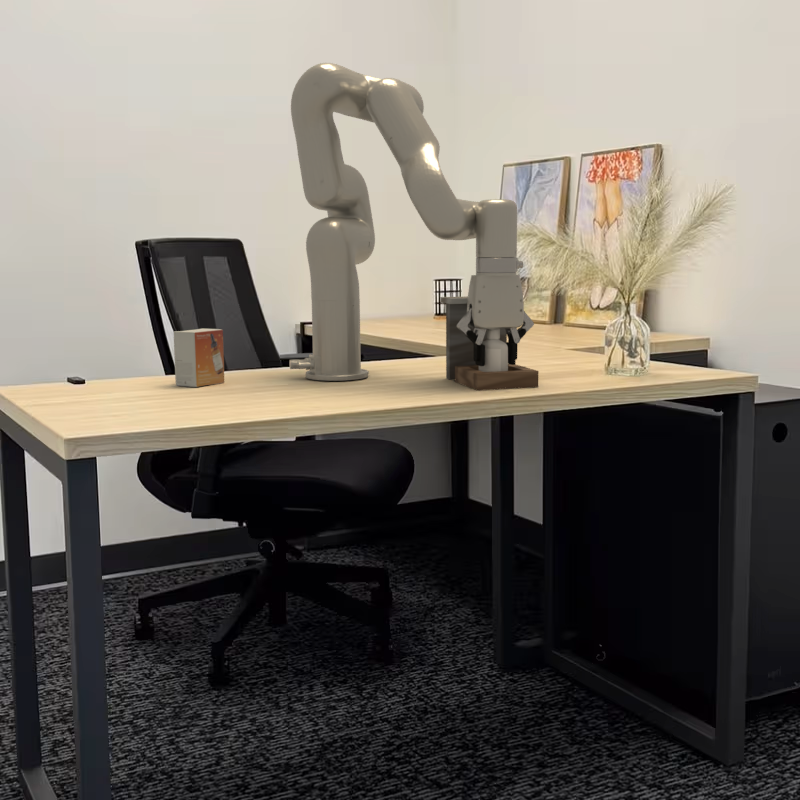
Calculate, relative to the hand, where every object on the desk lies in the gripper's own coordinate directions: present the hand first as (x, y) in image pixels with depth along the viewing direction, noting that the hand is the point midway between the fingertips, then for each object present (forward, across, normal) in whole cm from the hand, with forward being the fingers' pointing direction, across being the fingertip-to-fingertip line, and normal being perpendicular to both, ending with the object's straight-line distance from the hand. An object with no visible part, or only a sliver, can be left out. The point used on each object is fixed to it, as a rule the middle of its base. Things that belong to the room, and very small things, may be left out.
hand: (495, 363), depth 182 cm
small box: (+4, +53, -20) cm, 57 cm away
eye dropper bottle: (+4, 0, 0) cm, 4 cm away
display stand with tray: (+4, 0, -3) cm, 5 cm away
